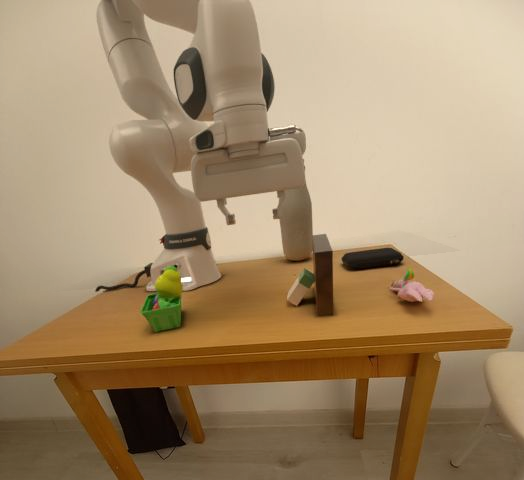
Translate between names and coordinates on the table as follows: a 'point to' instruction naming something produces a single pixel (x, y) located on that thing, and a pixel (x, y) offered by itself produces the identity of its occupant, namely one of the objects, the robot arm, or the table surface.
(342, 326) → the table surface
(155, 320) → the fruit basket
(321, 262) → the walnut board
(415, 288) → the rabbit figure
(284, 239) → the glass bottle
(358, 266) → the carrying case
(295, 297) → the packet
